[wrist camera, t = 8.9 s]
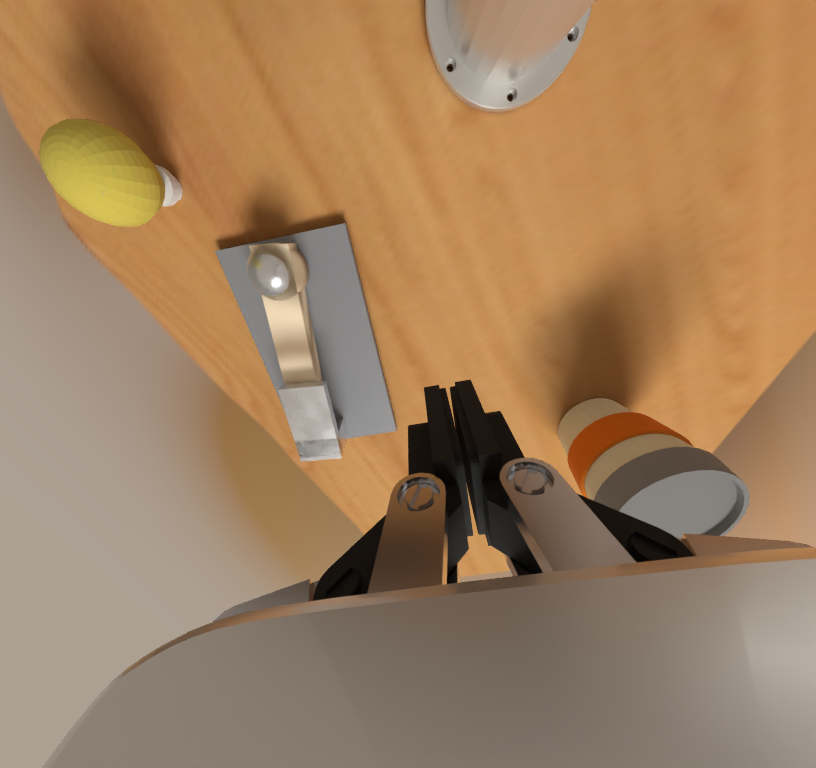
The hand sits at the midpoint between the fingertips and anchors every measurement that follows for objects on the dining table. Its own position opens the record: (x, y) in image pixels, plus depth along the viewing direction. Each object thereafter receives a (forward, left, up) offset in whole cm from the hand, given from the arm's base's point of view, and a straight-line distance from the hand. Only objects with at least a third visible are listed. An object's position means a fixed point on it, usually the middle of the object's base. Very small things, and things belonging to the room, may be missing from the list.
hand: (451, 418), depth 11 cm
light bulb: (-14, -22, -25) cm, 36 cm away
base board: (+4, -13, -25) cm, 29 cm away
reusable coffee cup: (+22, +20, -25) cm, 39 cm away
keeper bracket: (+11, -15, -24) cm, 31 cm away
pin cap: (-5, -14, -21) cm, 26 cm away
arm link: (+2, -14, -24) cm, 28 cm away
